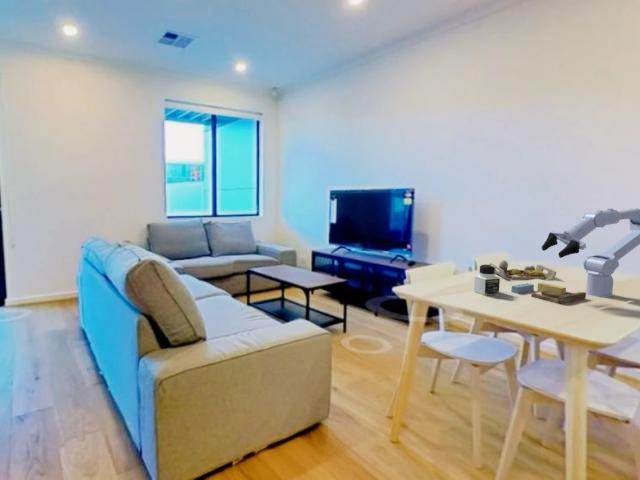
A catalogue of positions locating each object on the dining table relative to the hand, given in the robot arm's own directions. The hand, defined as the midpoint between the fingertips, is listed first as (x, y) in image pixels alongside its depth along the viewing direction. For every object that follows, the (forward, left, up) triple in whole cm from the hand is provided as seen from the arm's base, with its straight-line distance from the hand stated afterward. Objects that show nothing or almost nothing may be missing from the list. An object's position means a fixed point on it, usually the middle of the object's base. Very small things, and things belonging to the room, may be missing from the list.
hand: (550, 252), depth 153 cm
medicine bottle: (+13, -18, -19) cm, 30 cm away
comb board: (-4, +2, -19) cm, 19 cm away
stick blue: (0, -11, -19) cm, 22 cm away
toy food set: (-28, -32, -20) cm, 47 cm away
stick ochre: (-7, -3, -18) cm, 20 cm away
